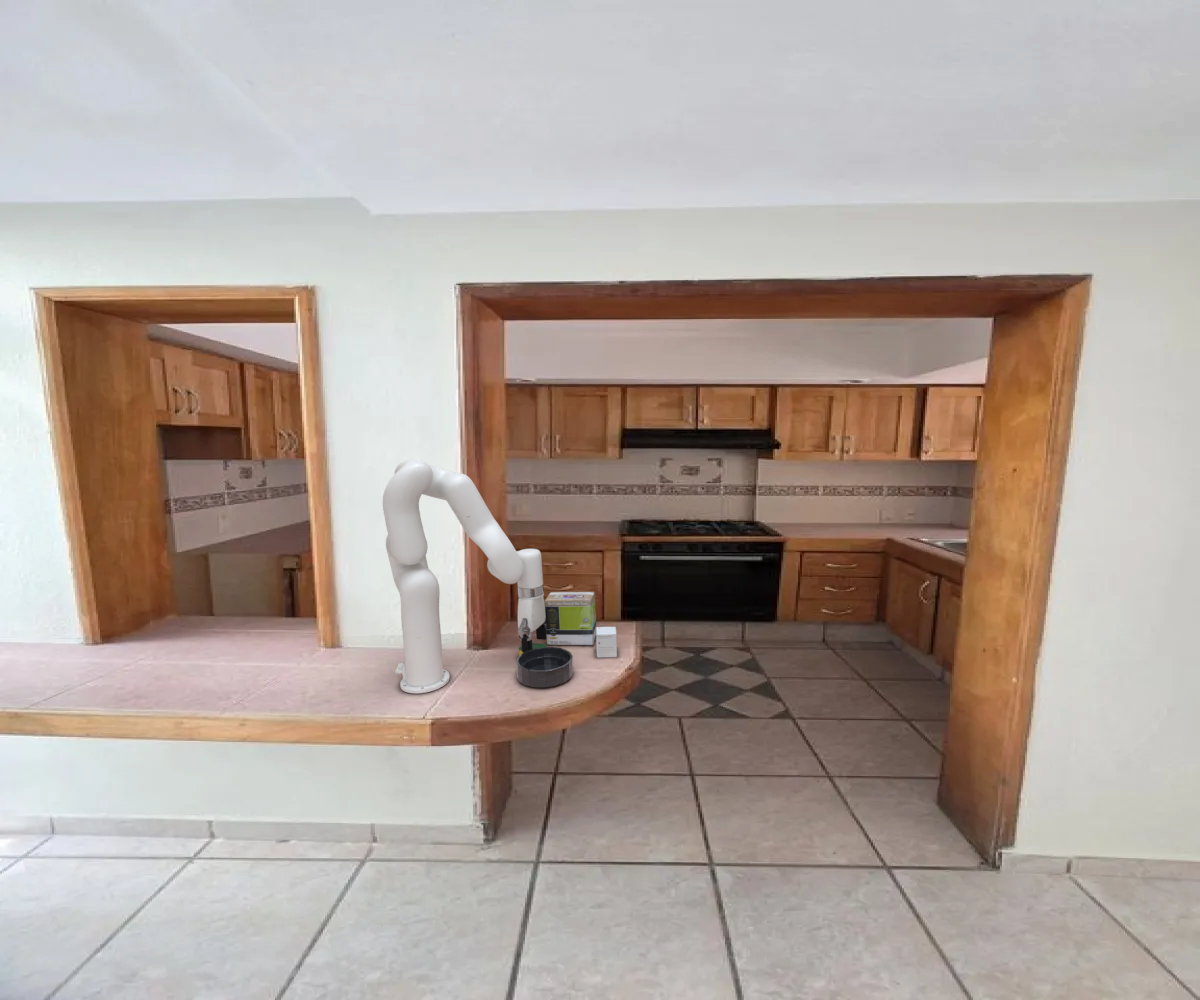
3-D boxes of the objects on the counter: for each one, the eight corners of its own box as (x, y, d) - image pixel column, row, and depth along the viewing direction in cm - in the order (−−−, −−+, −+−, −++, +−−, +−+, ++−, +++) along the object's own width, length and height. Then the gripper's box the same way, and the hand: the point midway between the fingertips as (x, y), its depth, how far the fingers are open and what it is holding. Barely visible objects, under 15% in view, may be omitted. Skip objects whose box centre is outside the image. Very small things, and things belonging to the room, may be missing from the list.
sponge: (519, 657, 148) (518, 647, 148) (526, 651, 153) (525, 641, 152) (540, 660, 146) (540, 650, 146) (546, 653, 150) (546, 644, 150)
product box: (596, 658, 146) (595, 634, 146) (596, 649, 152) (595, 626, 152) (617, 657, 146) (616, 633, 146) (616, 648, 152) (615, 625, 152)
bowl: (507, 685, 131) (506, 667, 131) (532, 660, 146) (531, 644, 145) (560, 692, 127) (559, 674, 126) (580, 666, 141) (580, 650, 140)
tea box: (596, 634, 165) (595, 590, 163) (593, 646, 155) (591, 600, 153) (552, 633, 166) (550, 590, 165) (545, 645, 156) (543, 600, 155)
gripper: (532, 581, 156) (535, 633, 159) (505, 599, 140) (509, 657, 142) (554, 582, 154) (557, 635, 156) (529, 601, 138) (533, 659, 140)
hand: (534, 645), depth 149 cm, fingers open, 9 cm apart
